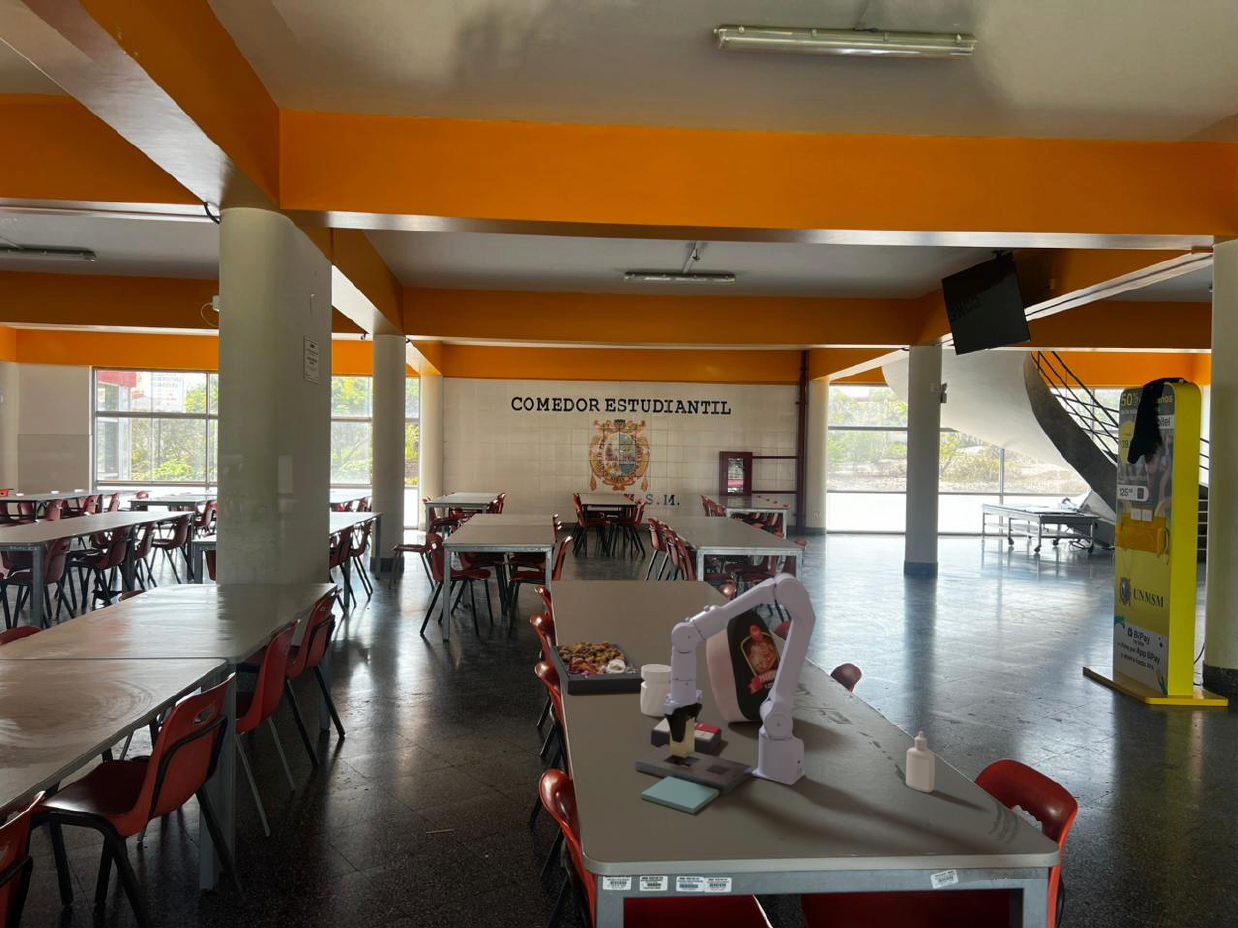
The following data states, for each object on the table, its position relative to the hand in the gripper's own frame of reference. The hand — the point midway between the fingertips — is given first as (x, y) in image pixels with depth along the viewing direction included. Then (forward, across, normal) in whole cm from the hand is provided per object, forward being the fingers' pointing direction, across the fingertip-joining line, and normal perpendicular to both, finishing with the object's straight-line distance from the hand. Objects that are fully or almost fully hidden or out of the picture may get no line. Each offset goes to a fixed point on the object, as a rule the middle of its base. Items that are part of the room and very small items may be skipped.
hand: (682, 738), depth 175 cm
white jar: (+7, -32, -26) cm, 42 cm away
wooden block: (+3, 0, 0) cm, 3 cm away
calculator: (+7, -16, -8) cm, 20 cm away
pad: (+7, +13, +7) cm, 16 cm away
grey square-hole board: (+7, 0, +3) cm, 7 cm away
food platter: (+8, -55, -63) cm, 84 cm away
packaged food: (+7, -42, -4) cm, 43 cm away
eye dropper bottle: (+7, -22, +46) cm, 51 cm away
